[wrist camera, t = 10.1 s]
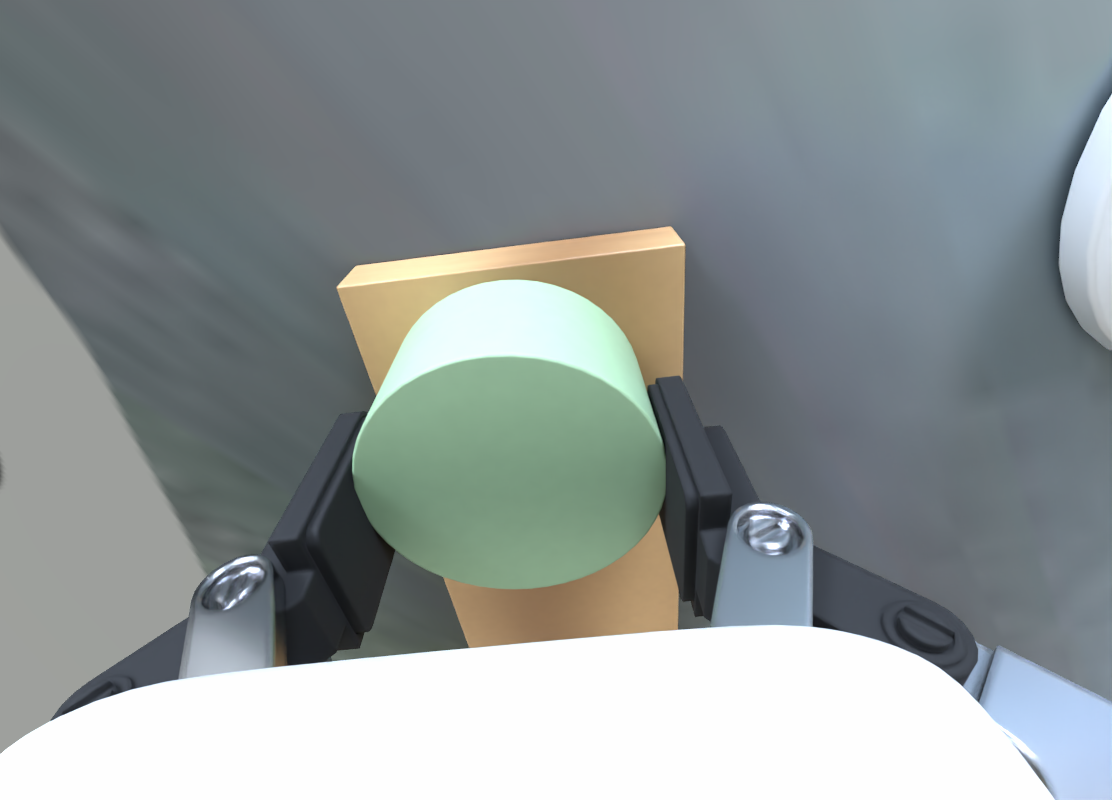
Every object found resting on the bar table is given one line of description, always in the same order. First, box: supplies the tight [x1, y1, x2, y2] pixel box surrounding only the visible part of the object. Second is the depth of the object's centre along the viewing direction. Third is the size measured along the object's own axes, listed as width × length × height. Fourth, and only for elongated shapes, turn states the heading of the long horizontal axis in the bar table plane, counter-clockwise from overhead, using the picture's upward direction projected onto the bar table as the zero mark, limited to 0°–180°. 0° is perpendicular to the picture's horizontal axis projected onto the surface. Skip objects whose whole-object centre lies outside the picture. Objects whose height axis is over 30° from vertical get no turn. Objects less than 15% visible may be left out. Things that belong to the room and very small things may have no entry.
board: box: [337, 227, 685, 648], centre depth 18 cm, size 8×20×2 cm, turn 7°
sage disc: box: [352, 280, 666, 589], centre depth 12 cm, size 6×6×4 cm
